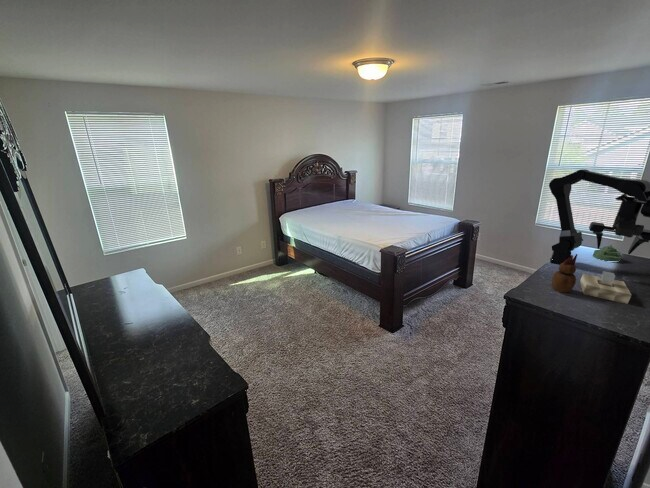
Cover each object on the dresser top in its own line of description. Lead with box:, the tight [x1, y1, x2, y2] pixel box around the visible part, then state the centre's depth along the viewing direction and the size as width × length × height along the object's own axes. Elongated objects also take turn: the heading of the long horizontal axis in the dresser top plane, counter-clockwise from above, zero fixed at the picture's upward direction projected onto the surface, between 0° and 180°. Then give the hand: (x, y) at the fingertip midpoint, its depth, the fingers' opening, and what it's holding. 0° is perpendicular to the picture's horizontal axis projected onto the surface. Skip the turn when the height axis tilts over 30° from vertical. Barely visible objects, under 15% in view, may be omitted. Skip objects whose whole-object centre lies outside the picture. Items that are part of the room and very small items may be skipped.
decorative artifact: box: [592, 244, 623, 262], centre depth 144 cm, size 10×7×10 cm
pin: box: [599, 270, 616, 287], centre depth 111 cm, size 3×3×8 cm
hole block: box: [579, 273, 632, 305], centre depth 112 cm, size 12×12×4 cm
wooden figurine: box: [551, 253, 578, 294], centre depth 111 cm, size 7×6×15 cm
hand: (613, 251), depth 121 cm, fingers open, 9 cm apart
